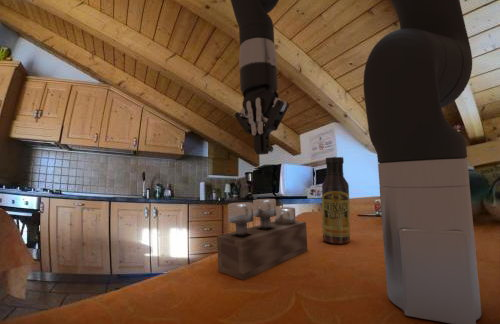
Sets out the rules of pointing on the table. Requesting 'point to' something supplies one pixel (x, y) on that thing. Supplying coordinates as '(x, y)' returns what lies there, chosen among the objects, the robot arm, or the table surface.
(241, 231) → the knob left
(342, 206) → the sauce bottle
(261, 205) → the knob middle
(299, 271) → the table surface
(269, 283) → the table surface
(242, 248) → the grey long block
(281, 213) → the knob right
